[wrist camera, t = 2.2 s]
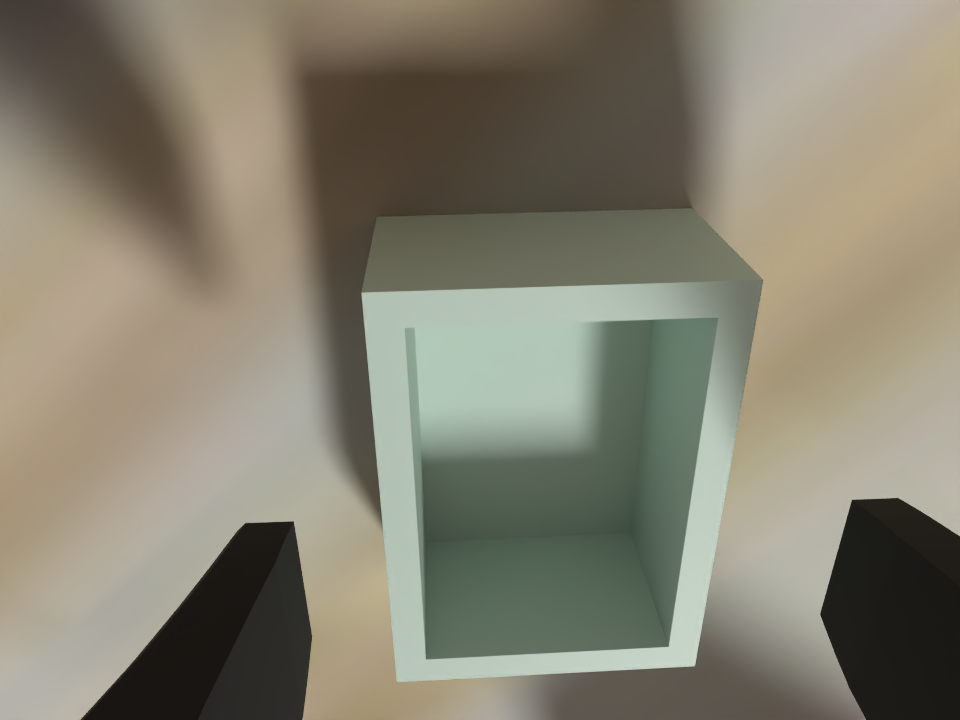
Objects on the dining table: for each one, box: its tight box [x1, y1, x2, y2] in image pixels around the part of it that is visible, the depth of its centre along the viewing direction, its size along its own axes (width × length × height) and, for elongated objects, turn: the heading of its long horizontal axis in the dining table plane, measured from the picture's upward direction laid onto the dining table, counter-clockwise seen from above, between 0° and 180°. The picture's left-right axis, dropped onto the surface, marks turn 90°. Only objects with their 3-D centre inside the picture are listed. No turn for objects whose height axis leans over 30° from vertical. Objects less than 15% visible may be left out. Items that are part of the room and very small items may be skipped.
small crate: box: [361, 208, 763, 682], centre depth 13 cm, size 5×7×3 cm
